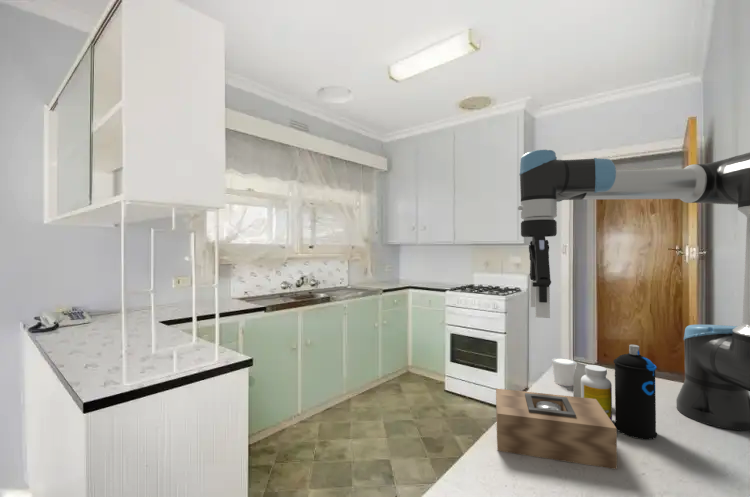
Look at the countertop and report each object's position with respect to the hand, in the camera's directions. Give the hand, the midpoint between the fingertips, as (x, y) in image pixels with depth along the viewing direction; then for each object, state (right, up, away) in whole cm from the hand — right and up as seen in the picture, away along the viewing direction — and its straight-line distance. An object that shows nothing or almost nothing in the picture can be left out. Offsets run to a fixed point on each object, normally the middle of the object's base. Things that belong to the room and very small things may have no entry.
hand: (539, 312), depth 82 cm
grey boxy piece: (+22, -29, +18) cm, 40 cm away
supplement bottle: (+18, -29, +8) cm, 35 cm away
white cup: (+22, -28, +31) cm, 48 cm away
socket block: (+1, -29, -3) cm, 29 cm away
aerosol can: (+23, -28, +2) cm, 37 cm away
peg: (+1, -29, -3) cm, 29 cm away
